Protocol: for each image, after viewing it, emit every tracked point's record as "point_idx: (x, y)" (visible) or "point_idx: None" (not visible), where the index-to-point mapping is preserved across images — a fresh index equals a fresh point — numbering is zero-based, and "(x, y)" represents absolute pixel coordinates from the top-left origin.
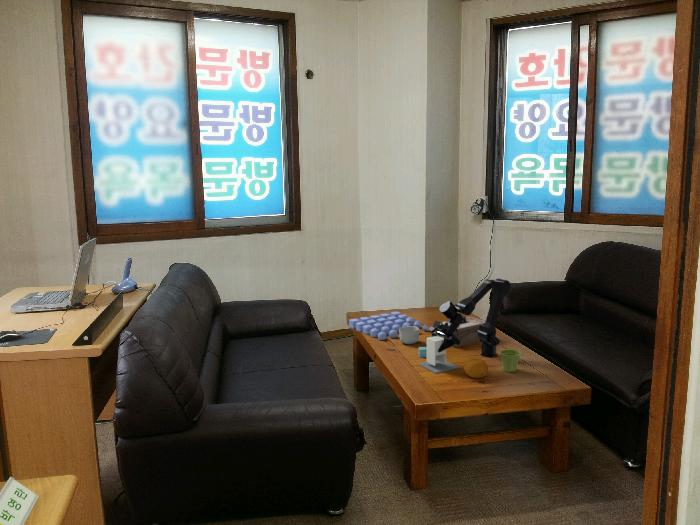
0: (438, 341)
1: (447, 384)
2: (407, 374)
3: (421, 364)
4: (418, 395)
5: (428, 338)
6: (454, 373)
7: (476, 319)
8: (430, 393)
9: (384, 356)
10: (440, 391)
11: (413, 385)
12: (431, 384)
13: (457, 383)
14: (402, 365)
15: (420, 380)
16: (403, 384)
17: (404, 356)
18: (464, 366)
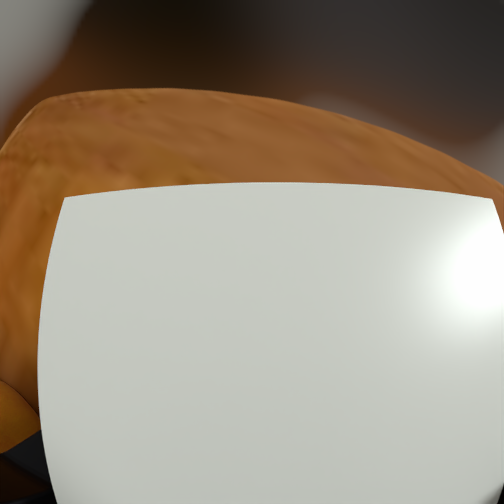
0: (53, 352)
1: (25, 239)
2: (236, 137)
3: None
4: (59, 109)
5: (444, 203)
6: None
7: None
8: (37, 143)
9: (498, 194)
10: (20, 178)
11: (115, 115)
12: (68, 177)
13: (8, 287)
14: (382, 185)
15: (129, 154)
16: (150, 91)
17: None
18: (6, 403)
